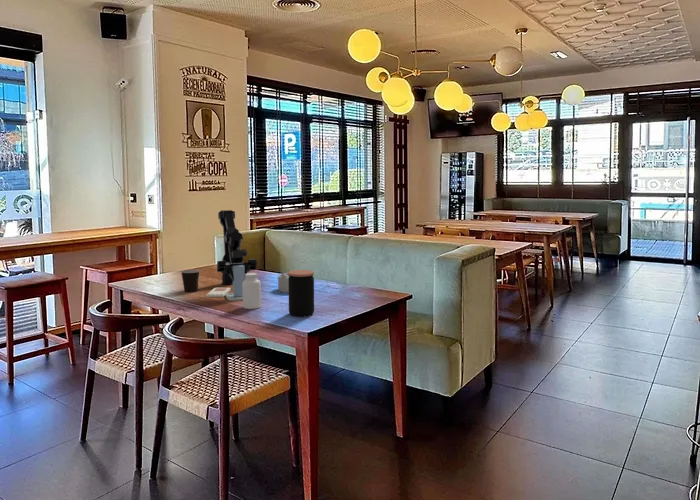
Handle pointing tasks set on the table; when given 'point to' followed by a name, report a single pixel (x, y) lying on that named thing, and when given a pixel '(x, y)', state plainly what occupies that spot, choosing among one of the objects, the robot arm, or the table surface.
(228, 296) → the tray
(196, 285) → the coffee mug
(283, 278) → the lumpy-topped squat cylinder
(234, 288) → the blue tall block
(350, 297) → the table surface
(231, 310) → the table surface
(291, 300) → the coffee jar
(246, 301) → the pill bottle
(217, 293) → the board
